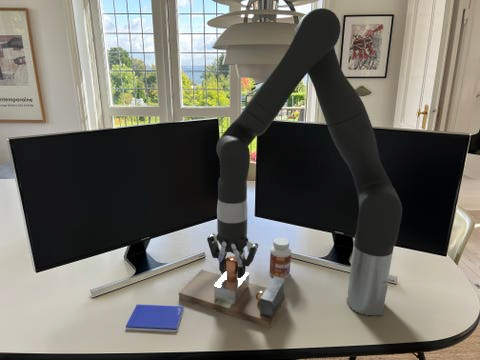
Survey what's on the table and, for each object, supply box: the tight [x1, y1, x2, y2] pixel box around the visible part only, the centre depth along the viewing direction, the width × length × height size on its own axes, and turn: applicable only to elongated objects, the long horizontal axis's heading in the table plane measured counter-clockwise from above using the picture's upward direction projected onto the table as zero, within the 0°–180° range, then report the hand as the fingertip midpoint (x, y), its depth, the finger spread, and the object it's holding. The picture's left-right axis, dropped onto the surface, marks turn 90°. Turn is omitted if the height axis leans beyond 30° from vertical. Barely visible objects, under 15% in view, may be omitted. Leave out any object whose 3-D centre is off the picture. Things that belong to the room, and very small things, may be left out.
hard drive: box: [125, 303, 185, 333], centre depth 85 cm, size 2×8×12 cm
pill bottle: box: [268, 237, 292, 279], centre depth 102 cm, size 6×6×11 cm
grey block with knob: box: [256, 276, 286, 319], centre depth 87 cm, size 6×10×5 cm, turn 156°
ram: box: [214, 255, 250, 305], centre depth 90 cm, size 6×9×10 cm, turn 156°
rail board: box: [178, 269, 286, 329], centre depth 92 cm, size 26×12×2 cm, turn 66°
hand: (232, 274), depth 90 cm, fingers open, 4 cm apart
